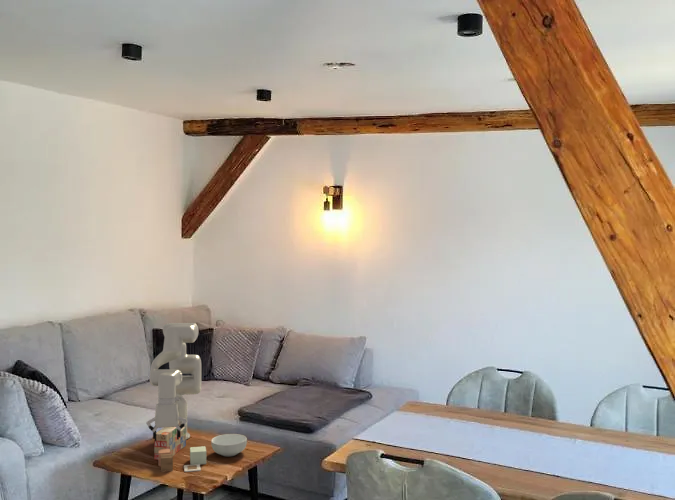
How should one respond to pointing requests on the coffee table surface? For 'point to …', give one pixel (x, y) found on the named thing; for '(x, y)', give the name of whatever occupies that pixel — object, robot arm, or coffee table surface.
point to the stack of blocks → (169, 440)
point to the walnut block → (166, 462)
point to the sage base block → (197, 455)
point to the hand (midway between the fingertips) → (166, 439)
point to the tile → (192, 468)
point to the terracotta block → (162, 451)
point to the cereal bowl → (229, 444)
